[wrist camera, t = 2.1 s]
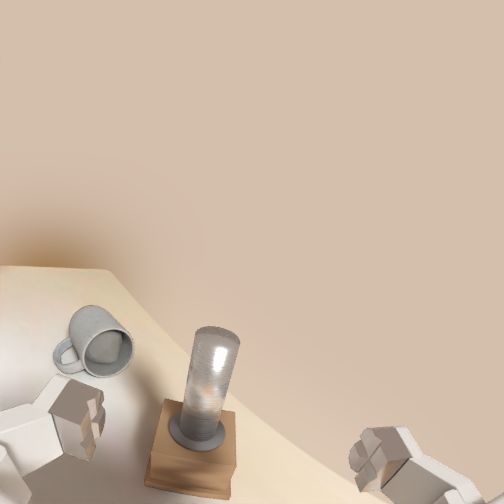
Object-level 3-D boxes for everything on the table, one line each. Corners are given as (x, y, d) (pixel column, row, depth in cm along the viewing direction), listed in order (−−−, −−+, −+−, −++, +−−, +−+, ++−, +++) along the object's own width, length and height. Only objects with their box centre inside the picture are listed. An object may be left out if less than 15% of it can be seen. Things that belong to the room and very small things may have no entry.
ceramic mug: (109, 340, 41) (110, 296, 39) (134, 371, 36) (136, 324, 34) (48, 351, 33) (42, 304, 31) (65, 388, 28) (57, 338, 26)
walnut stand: (144, 485, 20) (144, 451, 18) (157, 430, 27) (161, 391, 26) (228, 500, 21) (243, 468, 19) (228, 443, 28) (240, 406, 27)
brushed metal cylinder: (177, 437, 21) (192, 344, 19) (181, 413, 24) (197, 322, 22) (214, 444, 21) (240, 354, 19) (216, 419, 24) (239, 331, 22)
